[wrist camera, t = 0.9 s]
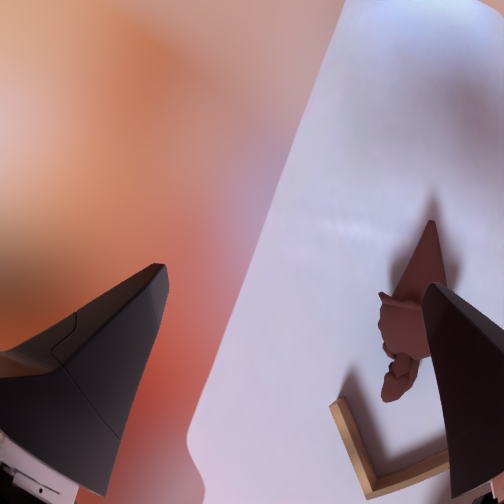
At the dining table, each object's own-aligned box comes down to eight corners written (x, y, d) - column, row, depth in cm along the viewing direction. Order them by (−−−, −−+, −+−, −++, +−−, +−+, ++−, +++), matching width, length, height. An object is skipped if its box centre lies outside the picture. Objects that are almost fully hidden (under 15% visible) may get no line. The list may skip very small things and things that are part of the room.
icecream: (379, 204, 21) (338, 392, 20) (468, 208, 16) (423, 421, 15) (403, 228, 26) (371, 378, 25) (473, 234, 21) (439, 398, 20)
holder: (550, 385, 13) (562, 389, 11) (371, 486, 20) (366, 500, 17) (517, 292, 18) (528, 287, 16) (336, 399, 24) (328, 406, 22)
